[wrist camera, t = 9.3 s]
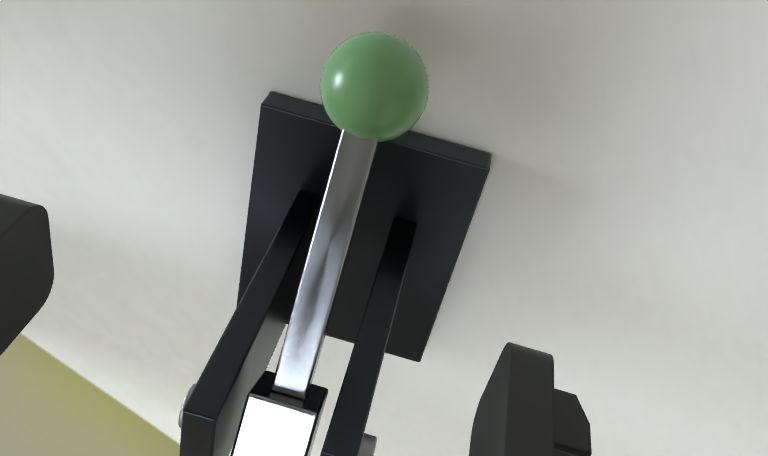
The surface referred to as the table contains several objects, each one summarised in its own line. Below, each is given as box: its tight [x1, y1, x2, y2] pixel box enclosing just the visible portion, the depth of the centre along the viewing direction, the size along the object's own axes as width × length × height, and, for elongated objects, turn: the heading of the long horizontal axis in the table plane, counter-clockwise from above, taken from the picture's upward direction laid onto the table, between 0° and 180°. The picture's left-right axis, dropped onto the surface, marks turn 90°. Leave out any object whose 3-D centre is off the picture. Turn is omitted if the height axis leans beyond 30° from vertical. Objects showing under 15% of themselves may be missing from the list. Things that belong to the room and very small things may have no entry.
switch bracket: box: [178, 92, 491, 456], centre depth 26 cm, size 11×9×13 cm
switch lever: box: [231, 32, 429, 456], centre depth 22 cm, size 14×3×3 cm, turn 168°
